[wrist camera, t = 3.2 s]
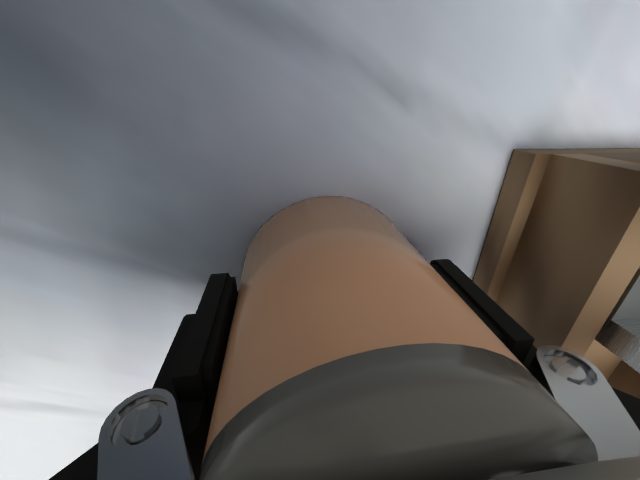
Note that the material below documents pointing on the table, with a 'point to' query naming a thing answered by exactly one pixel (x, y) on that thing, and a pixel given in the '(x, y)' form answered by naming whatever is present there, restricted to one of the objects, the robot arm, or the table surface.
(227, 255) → the table surface
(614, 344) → the plate
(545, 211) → the wooden tray
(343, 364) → the jar
